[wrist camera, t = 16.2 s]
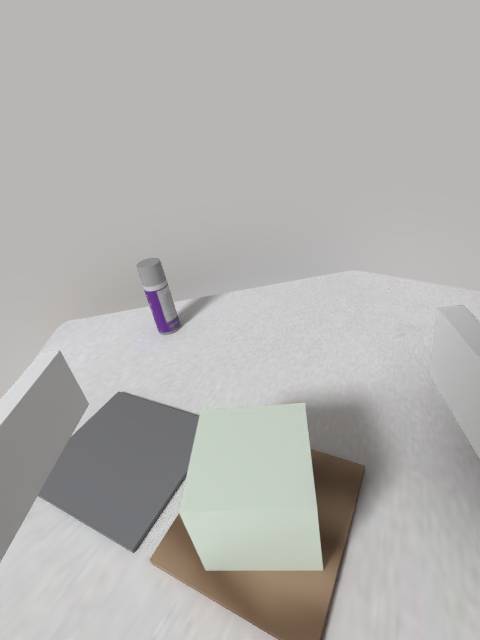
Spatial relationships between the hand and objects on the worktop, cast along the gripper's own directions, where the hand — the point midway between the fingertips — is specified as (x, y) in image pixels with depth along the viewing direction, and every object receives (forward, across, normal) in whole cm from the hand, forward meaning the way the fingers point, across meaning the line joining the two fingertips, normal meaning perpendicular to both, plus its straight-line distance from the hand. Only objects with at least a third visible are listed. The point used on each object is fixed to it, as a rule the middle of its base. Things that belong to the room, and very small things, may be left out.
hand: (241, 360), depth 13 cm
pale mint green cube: (+11, -3, -29) cm, 31 cm away
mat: (+20, -22, -30) cm, 42 cm away
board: (+11, -3, -30) cm, 32 cm away
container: (+52, -23, -30) cm, 64 cm away
